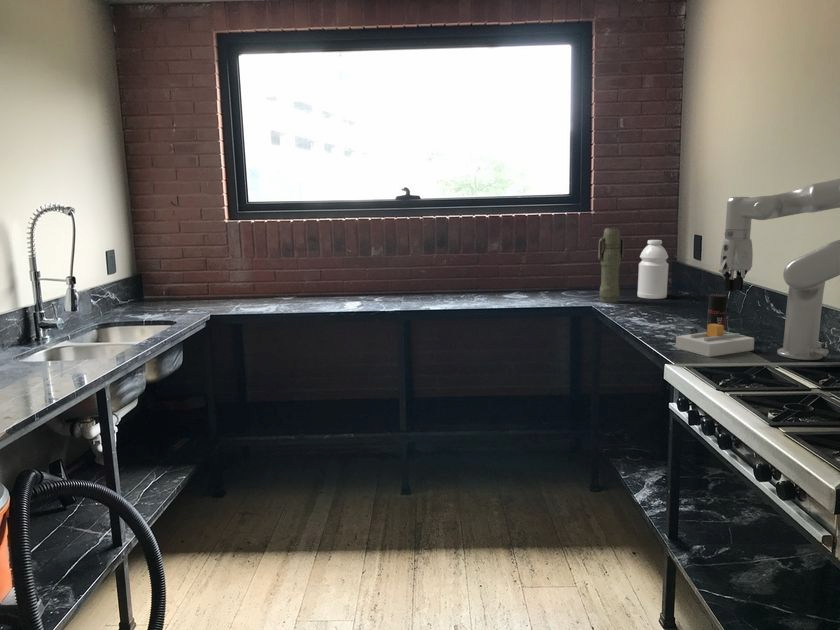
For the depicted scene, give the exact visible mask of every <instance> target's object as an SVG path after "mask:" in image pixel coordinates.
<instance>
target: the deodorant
mask: <svg viewBox="0 0 840 630" xmlns="http://www.w3.org/2000/svg"><path fill="white" fill-rule="evenodd" d="M727 304H728V295H727V294H722V293H720V294H719V293H710V294H708V307H707V324H706V328H707V327H708V324H719V325H723V326H724V331H726V321H727V320H726V319H727V318H726V317H727Z"/></svg>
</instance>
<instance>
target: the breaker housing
mask: <svg viewBox="0 0 840 630" xmlns="http://www.w3.org/2000/svg"><path fill="white" fill-rule="evenodd" d="M675 349H678V350H682V351H686V352H689V353H694V354H697V355H702V356H704V357H709V358H710V357H716V356H723V355H724V356H725V355H730V354H735V353H736V354H737V353H742V352H743V353H744V352H750V351H754V350H755V337H751V336H746V335H743V334H741V333H738V332H737V333H734V332H730V331H726V330H725V331H724V334H723V335H721V336H713V337H708V336H707V331H706V332H705V331H704V332H699V333H698V332H697V333H692V334H691V333H690V334H683V335H676V337H675Z"/></svg>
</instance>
